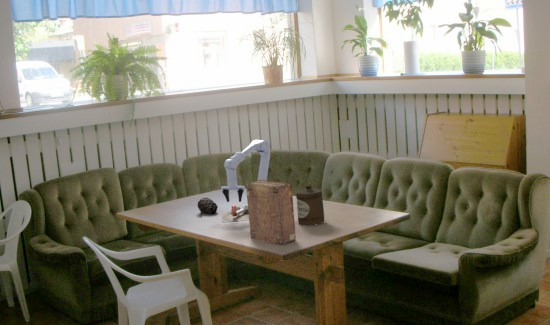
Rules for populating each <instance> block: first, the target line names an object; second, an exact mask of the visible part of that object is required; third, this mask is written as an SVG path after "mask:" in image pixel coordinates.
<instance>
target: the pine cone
mask: <svg viewBox="0 0 550 325" xmlns="http://www.w3.org/2000/svg"><path fill="white" fill-rule="evenodd" d="M197 208H198V210H199V211H200V213H199V214H200V215H204V214H205V215H214V214H216V213H217V211H218V208H219V206H218V205H217V203H216V202H215V201H213V200H212V199H211V198H209V197H202V198H200V199H199V200H198V201H197Z"/></svg>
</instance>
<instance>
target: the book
mask: <svg viewBox="0 0 550 325" xmlns="http://www.w3.org/2000/svg"><path fill="white" fill-rule="evenodd" d="M245 190H246V198H247V200H246V201H247V206H248V212H249V219H248V221H249V222H248V223H249V233H250V238H251V239H252V238H253V239H254V240H257V239H258V241H262V240H264V241H263V242H267V241H270V242H269V243H272V242H275V243H274V244H276V243H281V244H283V245H285V244H284V243H286V244H288V243H287V242H290V241H293V240H297V238H296V228H295V225H296V224H295V212H294V200H293V185H292V183H288V182H281V181H272V180H267V181H266V180H258V179H257V181H254V182H253V181H252V182H245ZM293 242H294V241H293ZM290 243H291V242H290ZM281 244H280V245H281Z"/></svg>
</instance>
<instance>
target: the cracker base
mask: <svg viewBox="0 0 550 325" xmlns="http://www.w3.org/2000/svg"><path fill="white" fill-rule="evenodd" d="M236 208H237V209H238V210H239V209H240V210H241V206H236ZM247 220H249V212H248V211H245V212H243V213H241V214H239V215H237V216H232V211H231V210H230V211H224V212H222V211H221V222H222V223H226V222H230V223H233V222H234V223H235V222H237V221H240V222H244V221H247Z"/></svg>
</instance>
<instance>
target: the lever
mask: <svg viewBox="0 0 550 325" xmlns="http://www.w3.org/2000/svg"><path fill="white" fill-rule="evenodd" d="M236 207H237V206H236V205H231V209H232V216H237V215H239V214H241V213H243V212H245V211H248V205H244V206H242V207H241V208H240V209H239V210H236Z"/></svg>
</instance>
